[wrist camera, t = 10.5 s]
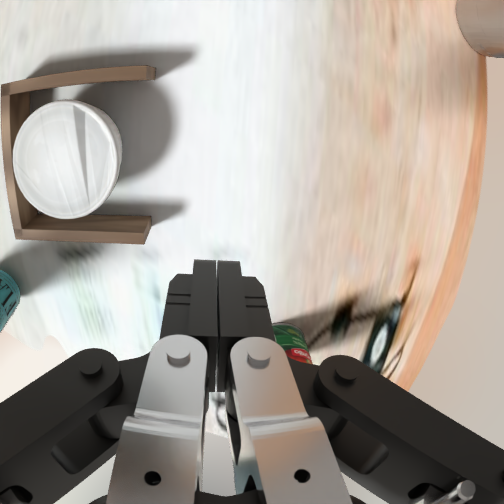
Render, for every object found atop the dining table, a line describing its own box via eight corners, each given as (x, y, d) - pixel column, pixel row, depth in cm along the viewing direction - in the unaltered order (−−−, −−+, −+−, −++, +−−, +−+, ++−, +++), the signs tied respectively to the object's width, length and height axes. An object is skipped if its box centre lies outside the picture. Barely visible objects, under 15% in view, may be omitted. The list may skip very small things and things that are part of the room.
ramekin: (154, 157, 29) (142, 170, 25) (80, 219, 31) (61, 242, 27) (90, 73, 24) (68, 72, 20) (21, 146, 26) (-5, 158, 22)
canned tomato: (314, 330, 43) (337, 392, 33) (286, 366, 46) (301, 426, 36) (263, 316, 40) (278, 383, 31) (238, 355, 44) (245, 420, 34)
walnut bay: (21, 82, 23) (1, 84, 19) (155, 68, 25) (146, 65, 21) (31, 223, 31) (15, 239, 27) (151, 226, 33) (144, 244, 29)
